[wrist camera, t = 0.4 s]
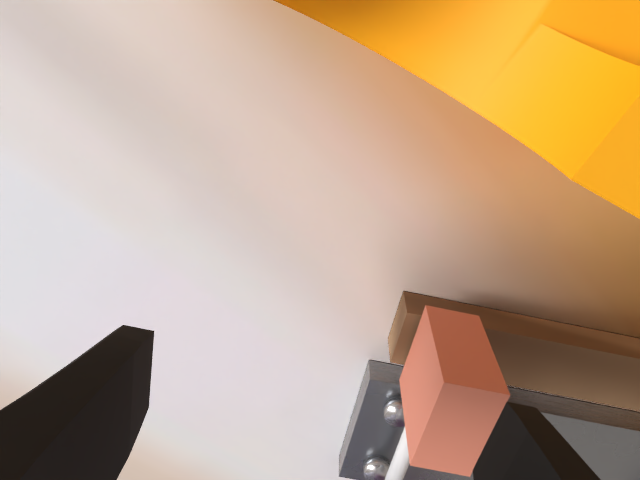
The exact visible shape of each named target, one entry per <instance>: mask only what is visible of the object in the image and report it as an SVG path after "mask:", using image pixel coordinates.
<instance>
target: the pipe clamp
mask: <svg viewBox="0 0 640 480" xmlns="http://www.w3.org/2000/svg"><path fill="white" fill-rule="evenodd" d="M274 1H276V2H278V3H281V4H283V5H285V6H287V7H289V8H292V9H294V10H296V11H298V12H300V13H302V14H304V15H306V16H308V17H310V18H312V19H314V20H316V21H318V22H320V23H322V24H324V25H326V26H328V27H330V28H332V29H334V30H336V31H338V32H340V33H342V34H343V35H345V36H347V37H349V38H351V39H353V40H355V41H356V42H358V43H360V44H362V45H364V46H366V47H367V48H369V49H371V50H373V51H375V52H376V53H378V54H380V55H382V56H384V57H385V58H387V59H389V60H391V61H392V62H394V63H396V64H398V65H399V66H401V67H403V68H404V69H406V70H408V71H410V72H411V73H413V74H415V75H416V76H418V77H420V78H421V79H423V80H425V81H426V82H428V83H430V84H431V85H433V86H435V87H436V88H438V89H440V90H441V91H443V92H445V93H446V94H448V95H449V96H451V97H453V98H454V99H456V100H458V101H459V102H461V103H462V104H464V105H466V106H467V107H469V108H470V109H472V110H473V111H475V112H477V113H478V114H480V115H481V116H483V117H484V118H486V119H487V120H489V121H490V122H492V123H493V124H495V125H497V126H498V127H500V128H501V129H503V130H504V131H505V132H507V133H508V134H510V135H511V136H513V137H514V138H516V139H517V140H519V141H520V142H522V143H523V144H524V145H526V146H527V147H529V148H530V149H532V150H533V151H534V152H536V153H537V154H539V155H540V156H541V157H543V158H544V159H545V160H547V161H548V162H549V163H551V164H552V165H553V166H555V167H556V168H557V169H558V170H560V171H561V172H562V173H564V174H565V175H566V176H567V177H568V178H570V179H571V180H572V181H574V182H576V183H578V184H579V185H581V186H583V187H585V188H586V189H588V190H590V191H592V192H593V193H595V194H597V195H599V196H600V197H602V198H604V199H606V200H607V201H609V202H611V203H613V204H614V205H616V206H618V207H620V208H621V209H623V210H625V211H627V212H629V213H630V214H632V215H634V216H636V217H637V218H639V219H640V0H274Z"/></svg>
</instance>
